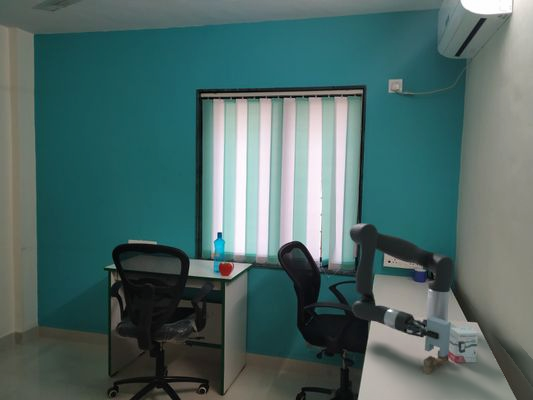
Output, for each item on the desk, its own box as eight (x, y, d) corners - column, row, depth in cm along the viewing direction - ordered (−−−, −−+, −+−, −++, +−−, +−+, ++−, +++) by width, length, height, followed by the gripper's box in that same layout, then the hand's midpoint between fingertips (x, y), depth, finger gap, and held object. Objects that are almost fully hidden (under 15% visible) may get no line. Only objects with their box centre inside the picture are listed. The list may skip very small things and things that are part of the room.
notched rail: (443, 358, 158) (444, 347, 158) (448, 360, 157) (449, 349, 156) (422, 372, 147) (423, 360, 147) (428, 374, 146) (429, 362, 145)
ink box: (455, 363, 155) (457, 333, 154) (448, 356, 160) (450, 327, 158) (476, 362, 156) (478, 332, 155) (468, 356, 161) (470, 327, 160)
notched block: (429, 347, 155) (432, 316, 154) (448, 354, 150) (450, 322, 149) (424, 350, 153) (427, 318, 152) (443, 357, 147) (445, 324, 146)
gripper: (389, 315, 157) (433, 329, 145) (408, 307, 167) (450, 320, 154) (388, 334, 158) (431, 350, 145) (407, 325, 168) (449, 339, 155)
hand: (441, 334), depth 150 cm, fingers closed on notched block, 4 cm apart
